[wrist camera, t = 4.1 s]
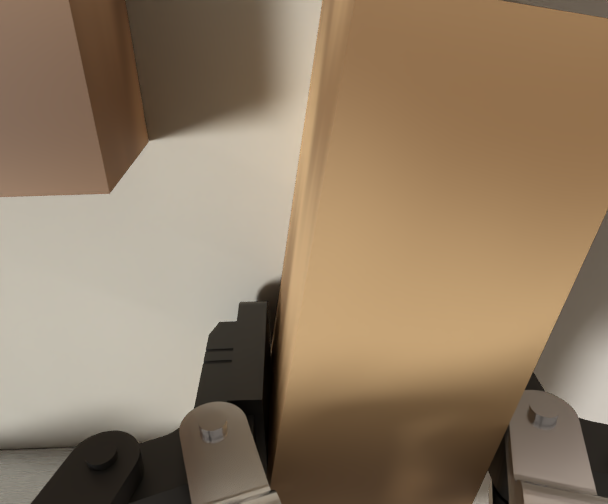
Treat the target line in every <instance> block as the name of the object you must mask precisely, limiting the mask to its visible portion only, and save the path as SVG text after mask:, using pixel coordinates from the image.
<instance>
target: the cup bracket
mask: <svg viewBox="0 0 608 504" xmlns="http://www.w3.org/2000/svg"><path fill="white" fill-rule="evenodd" d="M74 449H75V448H51V449H27V450H3V451H0V504H31V503H32V501H33V500H34V499H35V497H36V496H37V495H38V494H39V492H40V491H41V490H42V489H43V487H44V486H45V485H46V484H47V482H48V481H49V480H50V478H51V477H52V476H53V475H54V473H55V472H56V471H57V470H58V468H59V467H60V466H61V465H62V463H63V462H64V461H65V460H66V458H67V457H68V456H69V454H70V453H71V452H72V451H73V450H74Z"/></svg>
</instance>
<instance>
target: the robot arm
mask: <svg viewBox="0 0 608 504" xmlns="http://www.w3.org/2000/svg"><path fill="white" fill-rule="evenodd" d="M270 373H271V344H270V328H269V312H268V302H267V301H260V302H240V303H239V310H238V317H237V321H236V322H219V323H218V325H217V326H216V327H215V328H214V330H213V331H212V332H211V333H210V334H209V337H208V342H207V347H206V352H205V357H204V364H203V367H202V372H201V377H200V382H199V387H198V392H197V397H196V402H195V407H194V409H193V410H192V411H190V412H189V413H188V414H187V415H186V416H185V417H184V419H183V421H182V422H181V425H180V428H179V429H177V430H175V431H174V432H172V433H170V434H168V435H166V436H163V437H160V438H157V439H153V440H150V441H147V442H144V443H140V444H138V442H137V440H136V439H135V438H134V437H133V436H132V435H130V434H128V433H125V432H122V431H107V432H102V433H99V434H96V435H93V436H91V437H89V438H87V439H86V440H84V441H83V442H81V443H80V444H79V445H78V446H77V447H75V449H74V450H73V451H72V452H71V453H70V454H69V456H68V457H67V458H66V460H65V461H64V462H63V463H62V465H61V466H60V467H59V468H58V470H57V471H56V472H55V473H54V475H53V476H52V477H51V478H50V480H49V481H48V482H47V484H46V485H45V486H44V487H43V489H42V490H41V491H40V492H39V494H38V495H37V496H36V497H35V499H34V500H33V501H32V503H31V504H281V501H280V499H279V496H278V494H277V492H276V491H275V490H271V489H270V486H269V484H268V481H267V478H266V474H267V465H268V434H269V403H270ZM488 471H489V474H490V476H491V481H490V485H489V491H488V498H489V504H608V425H607V424H602V423H597V422H592V421H588V420H584V419H581V418H578V415H577V413H576V412H575V410H574V409H573V408H572V407H571V406H570V405H569V404H568V403H567V402H565V401H564V400H563V399H561V398H559V397H557V396H555V395H553V394H550V393H547V392H545V391H544V389H543V387H542V386H541V384H540V382H539V381H538V379H537V378H536V376H535V374H534V373H532V375H531V377H530V379H529V382H528V384H527V386H526V388H525V390H524V392H523V395H522V397H521V399H520V401H519V403H518V405H517V408H516V410H515V412H514V414H513V416H512V419H511V421H510V423H509V425H508V427H507V429H506V432H505V434H504V436H503V438H502V440H501V442H500V445H499V447H498V449H497V451H496V453H495V455H494V458H493V460H492V462H491V464H490V466H489V469H488Z"/></svg>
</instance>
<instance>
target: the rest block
mask: <svg viewBox="0 0 608 504" xmlns="http://www.w3.org/2000/svg"><path fill="white" fill-rule="evenodd" d="M148 142H149V141H148V135H147V129H146V123H145V116H144V110H143V104H142V98H141V92H140V86H139V80H138V74H137V68H136V62H135V56H134V50H133V44H132V38H131V32H130V26H129V20H128V14H127V8H126V1H125V0H0V197H16V196H48V195H80V194H110V192H111V191H112V190H113V188H114V187H115V186H116V184H117V183H118V182H119V180H120V179H121V178H122V177H123V175H124V174H125V173H126V171H127V170H128V169H129V167H130V166H131V165H132V163H133V162H134V161H135V159H136V158H137V157H138V155H139V154H140V153H141V151H142V150H143V149H144V147H145V146H146V145H147V143H148Z"/></svg>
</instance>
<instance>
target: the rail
mask: <svg viewBox="0 0 608 504" xmlns="http://www.w3.org/2000/svg"><path fill="white" fill-rule="evenodd" d="M607 210H608V18H602V17H596V16H591V15H585V14H579V13H573V12H567V11H561V10H555V9H549V8H544V7H538V6H532V5H526V4H520V3H514V2H508V1H502V0H323V1H322V8H321V14H320V21H319V28H318V35H317V41H316V48H315V55H314V62H313V68H312V75H311V82H310V89H309V95H308V102H307V109H306V116H305V122H304V129H303V136H302V143H301V149H300V156H299V163H298V170H297V176H296V183H295V190H294V197H293V203H292V210H291V217H290V224H289V230H288V237H287V244H286V251H285V257H284V264H283V271H282V278H281V284H280V291H279V298H278V304H277V311H276V318H275V325H274V331H273V338H272V345H271V373H270V403H269V434H268V465H267V474H266V478H267V481H268V484H269V486H270V489H271V490H275V491H276V492H277V494H278V496H279V499H280V501H281V504H472V503H473V501H474V499H475V497H476V495H477V492H478V490H479V488H480V486H481V484H482V482H483V479H484V477H485V475H486V473H487V471H488V469H489V466H490V464H491V462H492V460H493V458H494V455H495V453H496V451H497V449H498V447H499V445H500V442H501V440H502V438H503V436H504V434H505V432H506V429H507V427H508V425H509V423H510V421H511V419H512V416H513V414H514V412H515V410H516V408H517V405H518V403H519V401H520V399H521V397H522V395H523V392H524V390H525V388H526V386H527V384H528V382H529V379H530V377H531V375H532V373H533V371H534V369H535V366H536V364H537V362H538V360H539V358H540V355H541V353H542V351H543V349H544V347H545V345H546V342H547V340H548V338H549V336H550V334H551V332H552V329H553V327H554V325H555V323H556V321H557V318H558V316H559V314H560V312H561V310H562V308H563V305H564V303H565V301H566V299H567V297H568V295H569V292H570V290H571V288H572V286H573V284H574V282H575V279H576V277H577V275H578V273H579V271H580V268H581V266H582V264H583V262H584V260H585V258H586V255H587V253H588V251H589V249H590V247H591V245H592V242H593V240H594V238H595V236H596V234H597V232H598V229H599V227H600V225H601V223H602V221H603V218H604V216H605V214H606V212H607Z"/></svg>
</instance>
